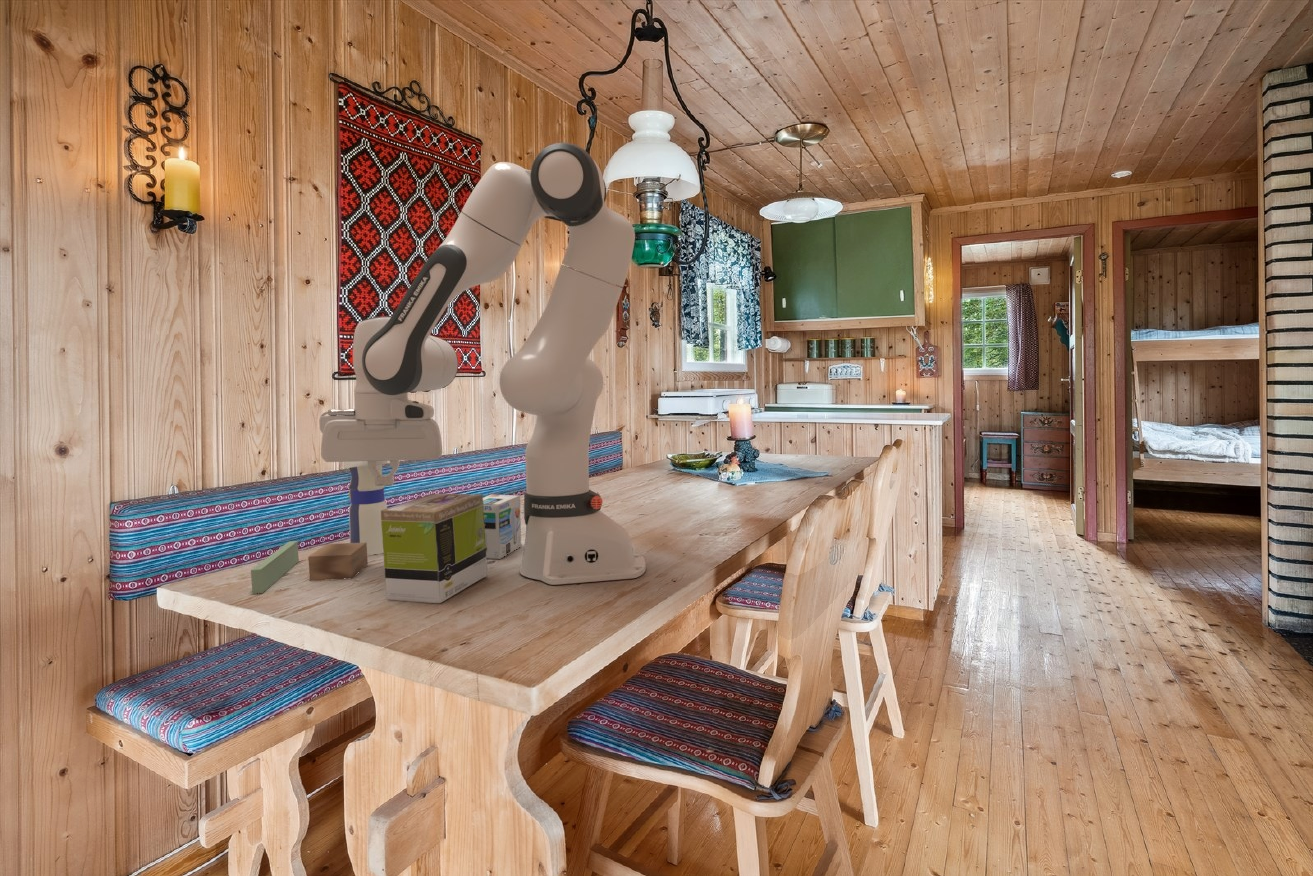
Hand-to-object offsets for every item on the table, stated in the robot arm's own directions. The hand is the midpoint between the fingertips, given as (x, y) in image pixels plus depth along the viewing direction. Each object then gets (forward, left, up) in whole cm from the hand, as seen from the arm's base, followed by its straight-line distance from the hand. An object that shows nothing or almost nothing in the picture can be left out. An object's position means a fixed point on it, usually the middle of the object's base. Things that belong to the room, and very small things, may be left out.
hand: (384, 485), depth 124 cm
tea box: (-13, +13, -16) cm, 24 cm away
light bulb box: (-18, -10, -16) cm, 26 cm away
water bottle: (+8, -13, -16) cm, 22 cm away
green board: (+18, +3, -15) cm, 24 cm away
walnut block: (+8, +2, -16) cm, 18 cm away
